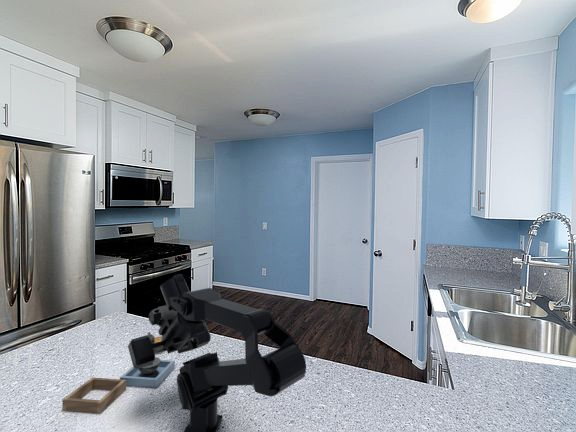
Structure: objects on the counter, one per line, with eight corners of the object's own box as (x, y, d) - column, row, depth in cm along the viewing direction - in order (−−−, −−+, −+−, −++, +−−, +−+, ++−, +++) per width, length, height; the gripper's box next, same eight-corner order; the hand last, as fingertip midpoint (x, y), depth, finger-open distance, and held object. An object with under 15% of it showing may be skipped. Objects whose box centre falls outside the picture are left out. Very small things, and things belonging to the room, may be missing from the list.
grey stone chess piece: (143, 383, 79) (143, 338, 79) (132, 375, 82) (133, 332, 82) (164, 374, 83) (165, 331, 83) (153, 367, 87) (153, 325, 87)
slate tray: (156, 388, 78) (156, 380, 78) (119, 385, 79) (119, 377, 79) (174, 368, 88) (174, 360, 88) (141, 366, 89) (141, 358, 89)
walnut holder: (100, 413, 68) (100, 402, 68) (62, 410, 69) (62, 399, 69) (126, 389, 77) (126, 379, 77) (92, 387, 78) (92, 377, 78)
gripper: (205, 290, 81) (184, 320, 88) (131, 305, 67) (114, 339, 75) (222, 327, 75) (198, 356, 83) (145, 352, 62) (125, 384, 70)
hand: (161, 357), depth 78 cm, fingers open, 9 cm apart
